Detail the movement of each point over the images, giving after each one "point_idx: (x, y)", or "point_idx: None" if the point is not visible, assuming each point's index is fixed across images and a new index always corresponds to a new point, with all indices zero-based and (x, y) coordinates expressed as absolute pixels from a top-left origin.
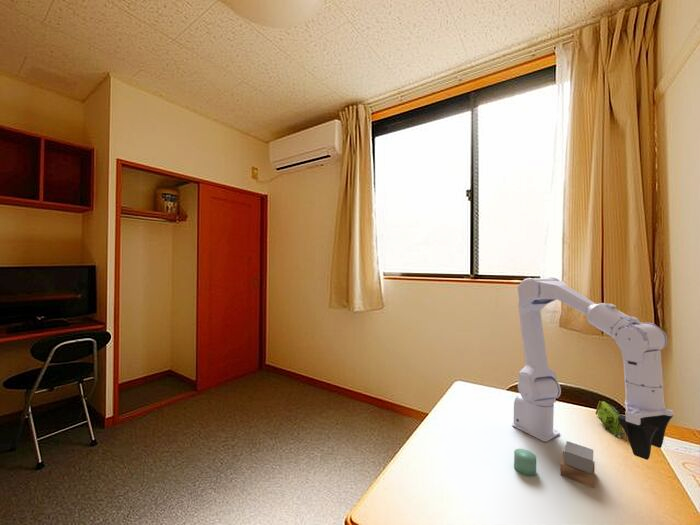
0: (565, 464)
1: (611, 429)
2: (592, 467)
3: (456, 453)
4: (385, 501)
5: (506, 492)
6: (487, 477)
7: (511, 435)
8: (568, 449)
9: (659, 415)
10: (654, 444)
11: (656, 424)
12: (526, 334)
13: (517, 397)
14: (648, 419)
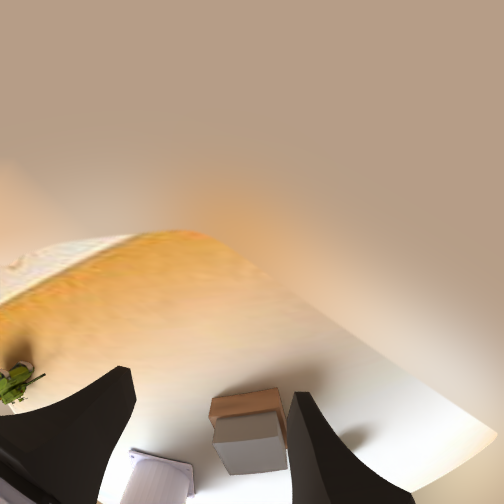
0: (285, 443)
1: (25, 379)
2: (259, 419)
3: None
4: (478, 447)
5: (406, 435)
6: (389, 458)
7: (228, 491)
8: (271, 467)
9: (53, 481)
10: (129, 386)
11: (82, 447)
12: None
13: None
14: (86, 473)
